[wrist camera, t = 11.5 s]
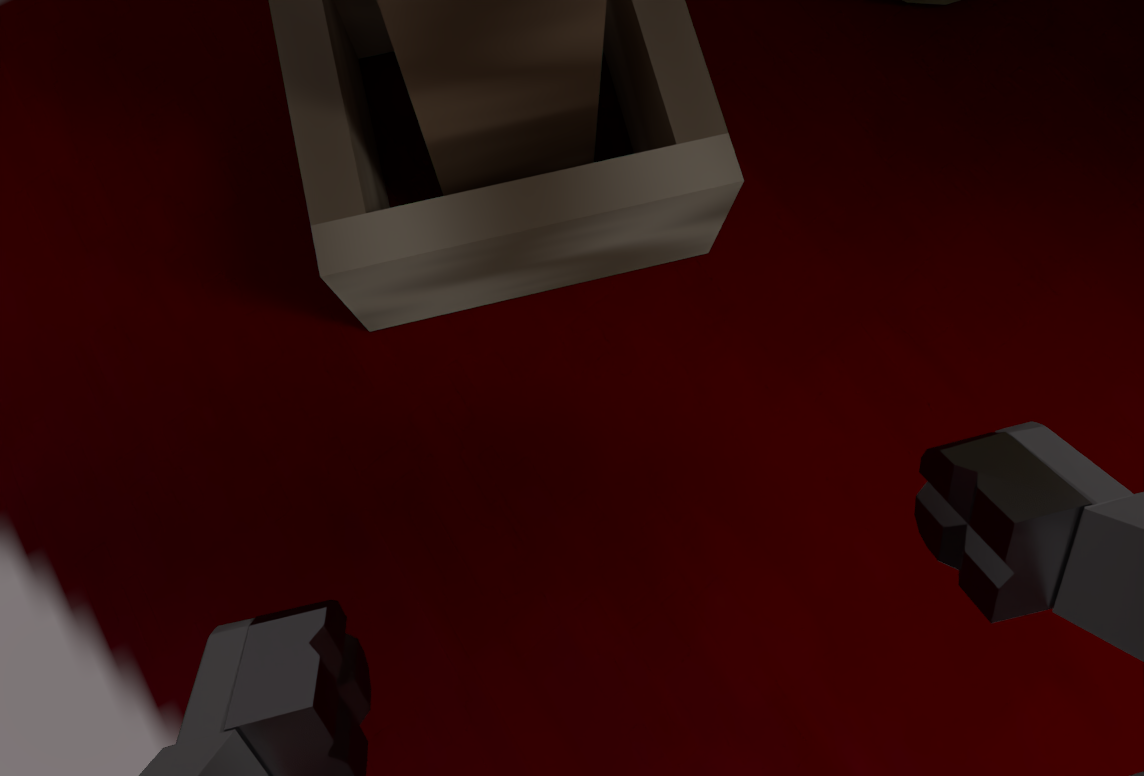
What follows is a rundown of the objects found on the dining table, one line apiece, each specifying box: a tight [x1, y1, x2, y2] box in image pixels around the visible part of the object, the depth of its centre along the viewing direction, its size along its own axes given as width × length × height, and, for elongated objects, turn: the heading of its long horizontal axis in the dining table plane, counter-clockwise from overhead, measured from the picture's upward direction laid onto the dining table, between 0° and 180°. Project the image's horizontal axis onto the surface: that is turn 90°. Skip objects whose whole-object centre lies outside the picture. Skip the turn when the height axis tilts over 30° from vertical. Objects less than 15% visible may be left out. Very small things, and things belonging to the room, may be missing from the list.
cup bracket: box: [269, 0, 744, 331], centre depth 18 cm, size 9×9×5 cm
